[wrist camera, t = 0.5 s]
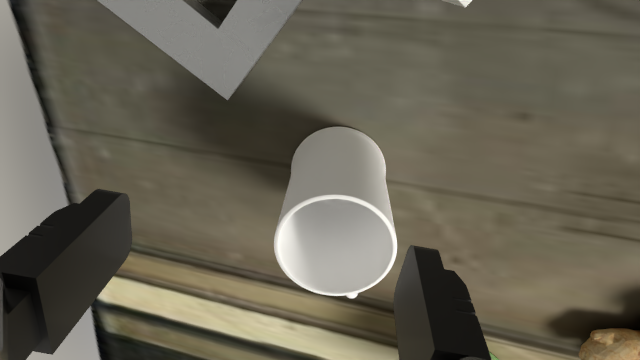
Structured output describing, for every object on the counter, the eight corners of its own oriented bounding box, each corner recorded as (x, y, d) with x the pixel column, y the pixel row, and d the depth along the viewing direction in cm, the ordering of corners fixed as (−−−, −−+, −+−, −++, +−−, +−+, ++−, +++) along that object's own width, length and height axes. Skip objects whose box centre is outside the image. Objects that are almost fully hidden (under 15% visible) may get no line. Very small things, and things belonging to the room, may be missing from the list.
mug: (389, 236, 41) (404, 330, 30) (303, 241, 41) (287, 335, 31) (382, 121, 35) (398, 186, 25) (284, 130, 36) (259, 196, 26)
